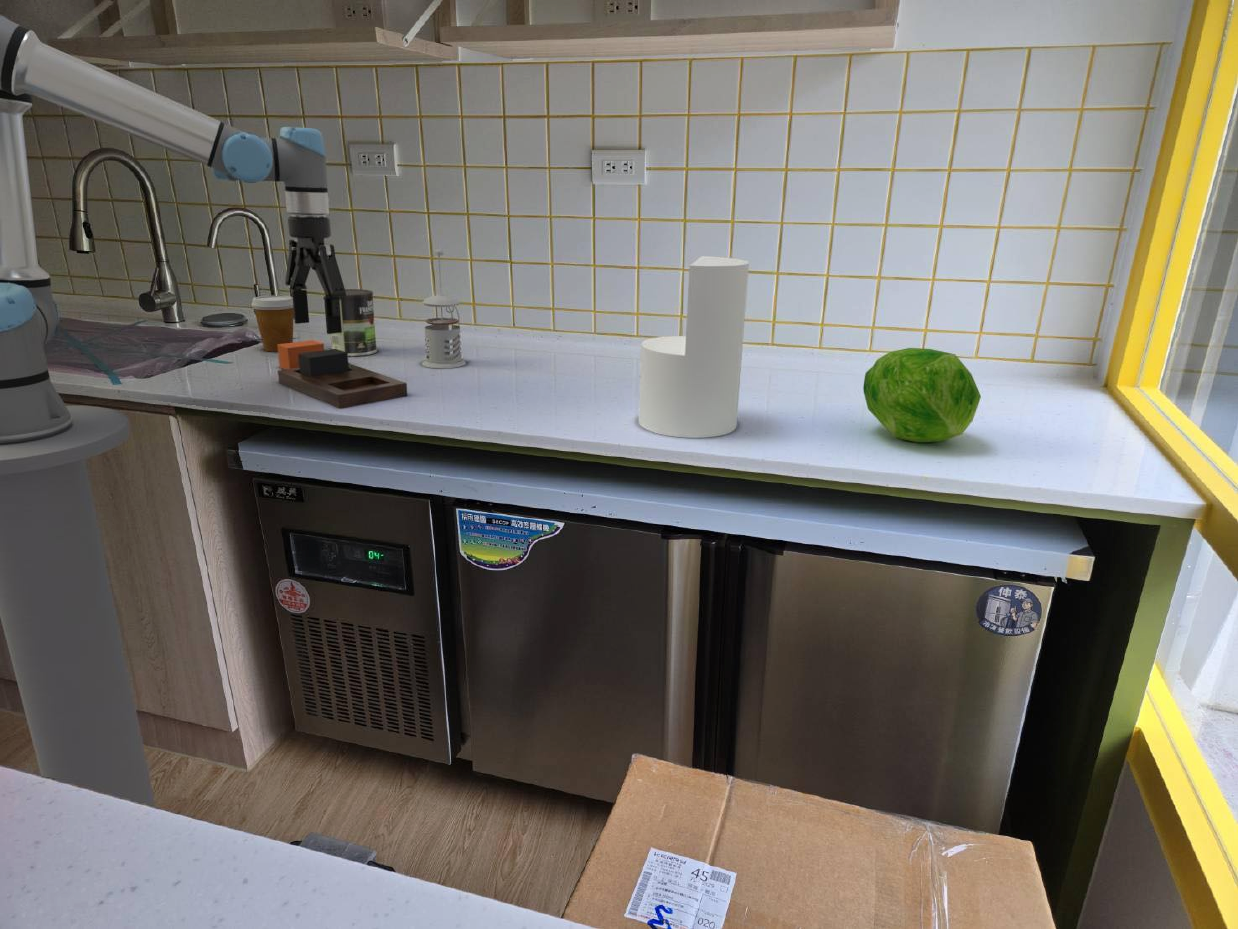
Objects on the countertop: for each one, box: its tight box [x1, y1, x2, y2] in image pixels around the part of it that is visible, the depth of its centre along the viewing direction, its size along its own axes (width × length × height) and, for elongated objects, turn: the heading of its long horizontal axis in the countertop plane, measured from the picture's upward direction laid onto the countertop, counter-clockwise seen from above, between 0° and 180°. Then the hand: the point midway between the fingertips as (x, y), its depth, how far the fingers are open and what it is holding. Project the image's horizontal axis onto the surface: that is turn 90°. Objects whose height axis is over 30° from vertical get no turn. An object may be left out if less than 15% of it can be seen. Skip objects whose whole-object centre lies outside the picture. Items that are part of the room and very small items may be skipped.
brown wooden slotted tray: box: [277, 362, 408, 409], centre depth 160 cm, size 14×25×2 cm, turn 45°
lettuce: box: [862, 347, 982, 443], centre depth 137 cm, size 17×20×17 cm
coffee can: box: [330, 288, 378, 357], centre depth 191 cm, size 10×10×14 cm
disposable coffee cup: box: [250, 295, 294, 353], centre depth 193 cm, size 10×10×12 cm
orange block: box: [277, 339, 325, 370], centre depth 177 cm, size 8×5×5 cm, turn 135°
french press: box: [421, 248, 467, 369], centre depth 181 cm, size 10×12×25 cm
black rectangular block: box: [298, 348, 349, 377], centre depth 164 cm, size 8×5×5 cm, turn 135°
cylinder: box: [638, 255, 750, 439], centre depth 140 cm, size 17×17×28 cm
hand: (317, 328), depth 162 cm, fingers open, 13 cm apart
